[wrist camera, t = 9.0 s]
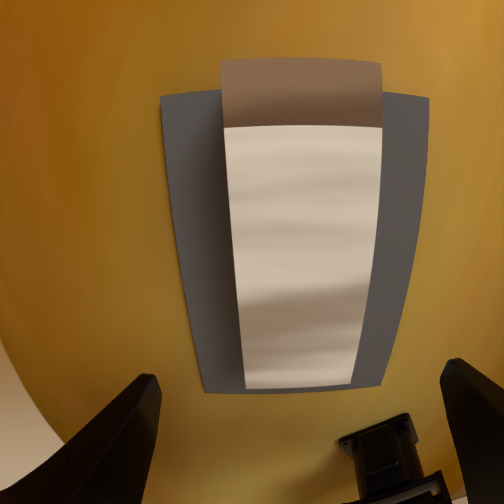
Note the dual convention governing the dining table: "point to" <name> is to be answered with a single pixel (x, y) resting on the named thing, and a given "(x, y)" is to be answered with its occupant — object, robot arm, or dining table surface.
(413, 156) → the dark gray tapered panel
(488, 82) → the dining table surface
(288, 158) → the tall pale block
